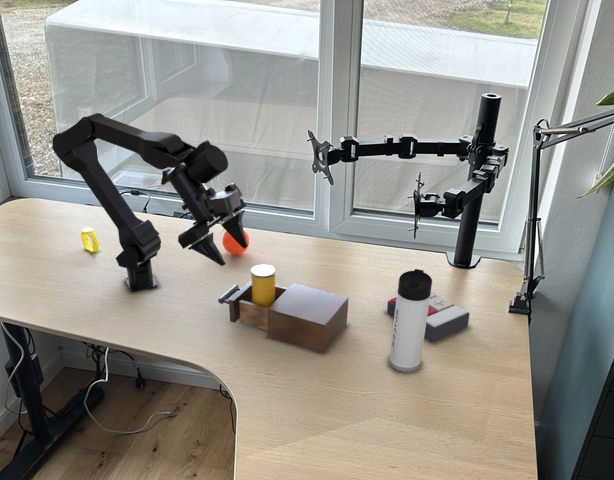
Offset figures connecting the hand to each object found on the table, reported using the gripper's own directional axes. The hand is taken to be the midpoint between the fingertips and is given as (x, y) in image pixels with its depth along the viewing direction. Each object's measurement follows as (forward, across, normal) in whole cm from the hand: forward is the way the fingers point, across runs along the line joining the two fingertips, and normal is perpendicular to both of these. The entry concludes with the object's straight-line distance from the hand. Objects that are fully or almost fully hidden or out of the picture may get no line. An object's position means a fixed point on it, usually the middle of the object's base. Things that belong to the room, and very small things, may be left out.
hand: (235, 256), depth 140 cm
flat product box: (+35, +16, -23) cm, 45 cm away
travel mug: (+36, -1, -23) cm, 43 cm away
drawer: (+14, 0, +4) cm, 14 cm away
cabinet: (+22, 0, -6) cm, 22 cm away
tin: (+14, 0, +2) cm, 14 cm away
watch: (-18, +8, +47) cm, 51 cm away
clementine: (+2, +24, +21) cm, 32 cm away
